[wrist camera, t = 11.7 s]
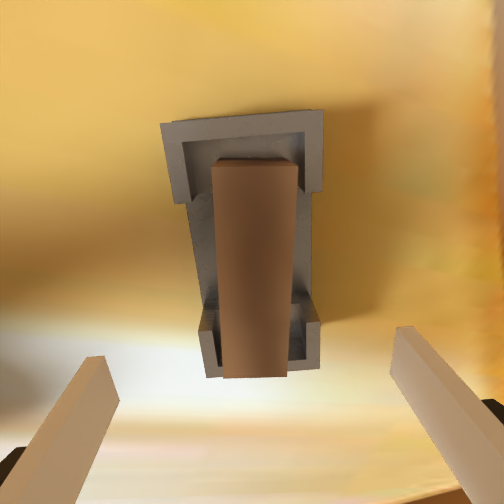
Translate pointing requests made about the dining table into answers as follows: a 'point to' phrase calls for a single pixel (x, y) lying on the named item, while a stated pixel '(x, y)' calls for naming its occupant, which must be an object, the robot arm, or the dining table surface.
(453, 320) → the dining table surface
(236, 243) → the brown wooden block
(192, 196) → the bracket
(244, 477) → the dining table surface
